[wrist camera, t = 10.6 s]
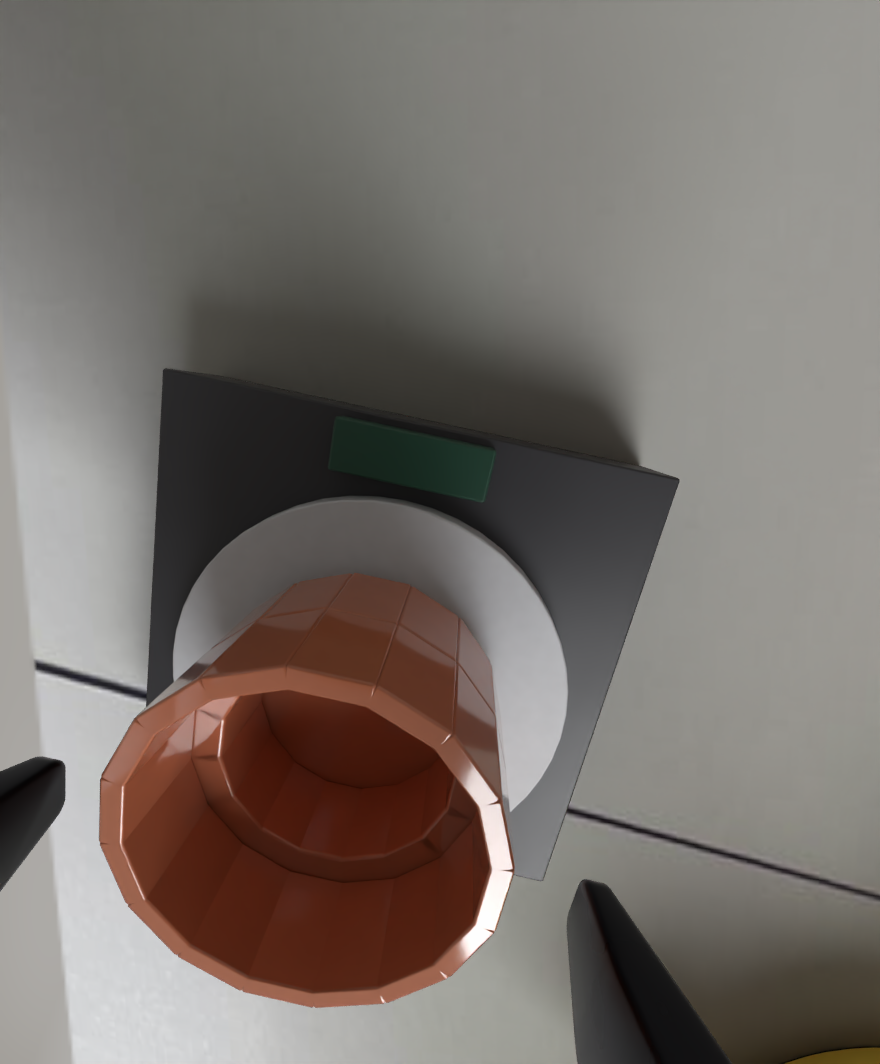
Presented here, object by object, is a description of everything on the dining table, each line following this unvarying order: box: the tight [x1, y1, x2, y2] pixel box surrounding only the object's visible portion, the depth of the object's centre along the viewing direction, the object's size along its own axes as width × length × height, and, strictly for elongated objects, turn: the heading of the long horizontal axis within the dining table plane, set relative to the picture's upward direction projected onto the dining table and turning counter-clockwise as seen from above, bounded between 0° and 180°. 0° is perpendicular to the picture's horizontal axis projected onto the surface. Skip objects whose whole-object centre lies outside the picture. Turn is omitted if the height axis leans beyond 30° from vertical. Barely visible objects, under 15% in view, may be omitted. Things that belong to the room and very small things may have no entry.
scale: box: [146, 368, 679, 881], centre depth 13 cm, size 12×12×3 cm
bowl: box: [99, 573, 515, 1008], centre depth 10 cm, size 7×7×4 cm
